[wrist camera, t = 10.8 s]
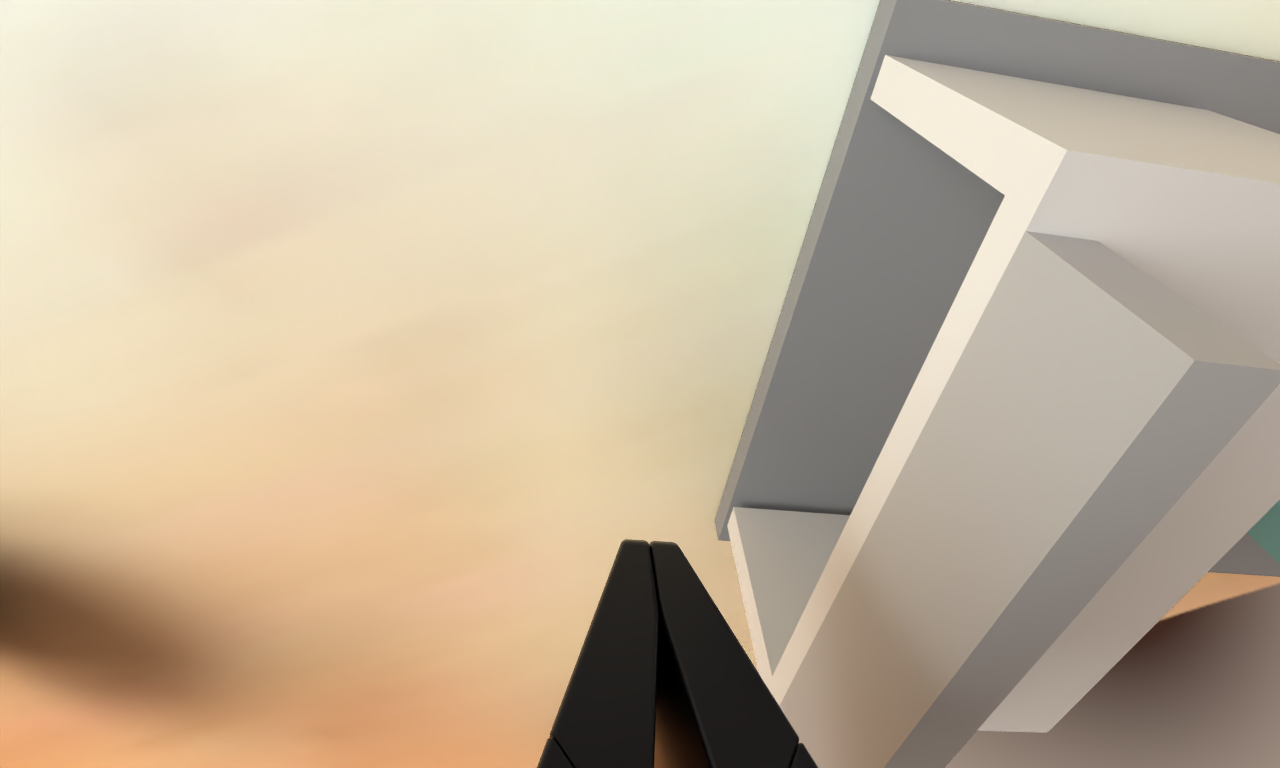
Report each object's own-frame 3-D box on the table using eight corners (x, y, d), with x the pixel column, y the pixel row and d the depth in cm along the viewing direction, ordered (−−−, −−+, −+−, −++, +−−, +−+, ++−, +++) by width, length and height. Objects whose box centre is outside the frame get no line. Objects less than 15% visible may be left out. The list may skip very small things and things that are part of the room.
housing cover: (942, 540, 21) (1124, 874, 14) (727, 525, 20) (801, 875, 13) (1208, 110, 14) (1905, 346, 6) (885, 54, 13) (1272, 257, 5)
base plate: (1273, 559, 24) (1338, 621, 22) (714, 521, 21) (727, 588, 19) (1718, 142, 16) (1891, 180, 14) (884, -12, 13) (940, 4, 11)
